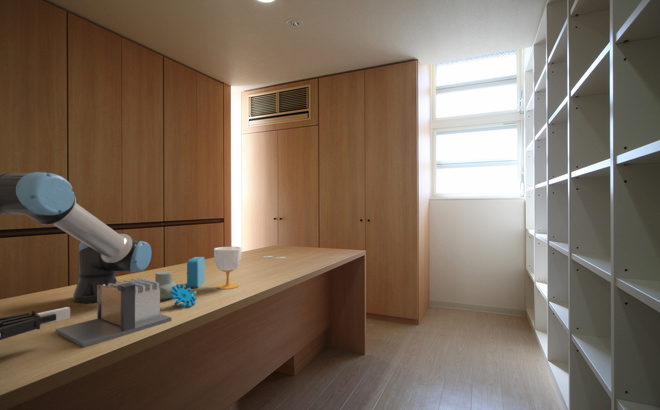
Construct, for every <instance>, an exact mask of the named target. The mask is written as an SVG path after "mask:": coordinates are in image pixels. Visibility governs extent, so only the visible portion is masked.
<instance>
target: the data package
mask: <svg viewBox="0 0 660 410" xmlns="http://www.w3.org/2000/svg"><path fill="white" fill-rule="evenodd" d="M205 261H206V259H205V257H204V256H195V257H192V258H190V259H188V260H187V263H186V284H187V285H186V287H187V289H188V288H191V289H192V288H193V289H195V288H196V289H197V288H199V287H201V286H202V285H203V284H204V283H205V278H206V277H205V276H206V275H205V274H206V265H205V264H206V262H205Z"/></svg>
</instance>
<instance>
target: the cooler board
mask: <svg viewBox="0 0 660 410" xmlns="http://www.w3.org/2000/svg"><path fill="white" fill-rule="evenodd" d="M117 290H118V291H121V326H120V325H117V324H115V323H112V322H109V321H106V320H104V319H101V318H100V319H98V318H97V317H96V318H94V319H91V320H86V321H82V322H78V323H74V324H69V325H66V326H62V327H58V328H55V333H56V334H58V335H60V336H62V337H64V338H66V339H67V340H70V341H71V342H73V343H75V344H77V345H79V346H81V347H82V348H86V347H90V346H93V345H95V344H99V343H103V342H105V341H109V340H113V339H116V338H119V337H122V336H125V335H129V334H131V333H135V332H139V331H141V330H145V329H148V328H152V327H156V326H158V325H161V324H165V323H168V322H171V321H172V317H171V316H168V315H165V314H162V313H160V317H159V318H156V319H153V320H149V321H146V322H142V323H139V324H135V285H134V284H130V283H126V284H120V285H117Z"/></svg>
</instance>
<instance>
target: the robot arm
mask: <svg viewBox="0 0 660 410" xmlns="http://www.w3.org/2000/svg"><path fill="white" fill-rule="evenodd" d="M3 215H24V216H27V217H28V218H30V219H32V220H33V221H35V222H37V223H39V224H40V225H42V226H51V225H53V226H55V227H57V228H58V229H59V230H61V231H62V232H64V233H66V234H68V235H69V236H71V237H73V238H75V239H76V240H78V241H80V243H79V245H78V247H79V248H78V273H79V274H78V281H77V283H76V286H75V289H74V292H73V295H72V300H73V302H74V303H79V304H80V303H81V304H82V303H84V304H87V303H97V285H101V284H106V285H107V286H108V283H113V284H116V282H118V280H117V277H116V272H118V273H119V272H121V273H123V272H125V273H140V272H141V273H142V272H143V271H144V270H146V269H147V268H148V267H149V264H150V262H151V261H152V247H151V245H150V243H148V242H146V241H143V240H140V241H138V240H135V239H134V238H133V237H131V236H130V235H128V234H126V233H118V232H117V231H116V230H114V229H113V228H111V227H110V226H108V225H107V224H106V223H104V221H101V220H100V219H98V218H97V217H96V216H95V215H93V214H92V213H90V212H89V211H87V210H86V209H85V208H84V207H83V206H80V204H78V203H77V198H76V196H75V192H74V191H73V186H72V185H71V183H70V181H68V180H67V179H66V178H64V177H63V176H61V175H58V174H56V173H52V172H45V171H35V172H2V173H0V216H3ZM68 319H71V307H69V306H65V307H62V308H55V309H51V310H46V311H42V312H38V313H37V312H36V310H31V313H30V312H26V313H20V314H15V315H8V316H3V317H0V341H2V340H5V339H8V338H11V337H15V336H18V335H22V334H25V333H28V332H30V331H31V332H32V331H35V330H41V326H42V325H47V324H52V323H55V322H60V321H63V320H68Z"/></svg>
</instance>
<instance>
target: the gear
mask: <svg viewBox="0 0 660 410" xmlns="http://www.w3.org/2000/svg"><path fill="white" fill-rule="evenodd" d="M176 284H177V285H176V286H173V287H172V290H171V292H170V293H171V294H174V295H172V298H171V299H172V300H176V301H175V302H174V303H173V304H174V305H175V306H178V305H179V304H180V303H182V304H181V305H180V306H181V307H182V308H185V307H187V308H191V307H192V306H194V305H196V301H197V297H196V296H195V295H196V294H197V291H196V290H194V291H192V288H188V287H187V285H185V284H182V285H181V284H180V283H176ZM176 287H177V289H178V290H177V289H176ZM186 287H187V289H186ZM191 291H192V292H191ZM186 305H187V306H186Z"/></svg>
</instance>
